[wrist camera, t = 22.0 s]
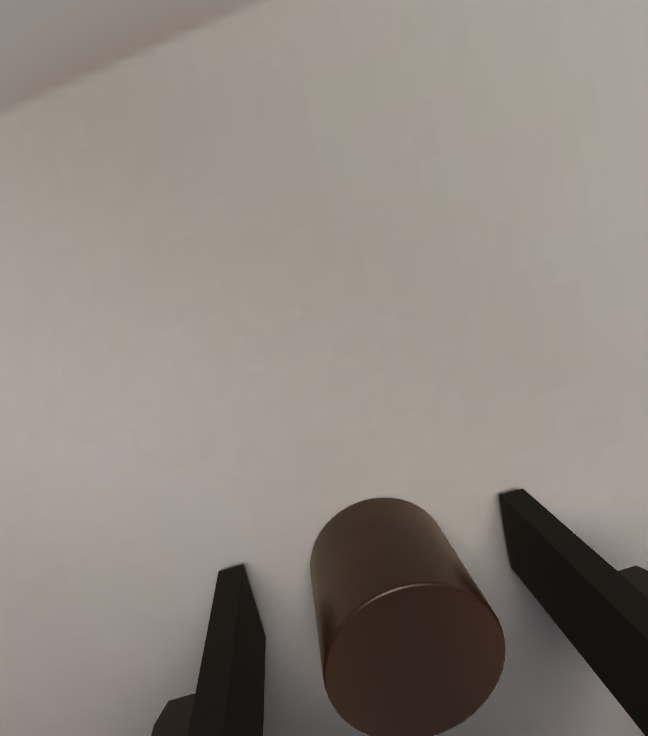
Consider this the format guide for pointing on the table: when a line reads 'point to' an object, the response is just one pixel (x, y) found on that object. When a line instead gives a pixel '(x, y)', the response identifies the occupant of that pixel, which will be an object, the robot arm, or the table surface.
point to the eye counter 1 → (400, 623)
